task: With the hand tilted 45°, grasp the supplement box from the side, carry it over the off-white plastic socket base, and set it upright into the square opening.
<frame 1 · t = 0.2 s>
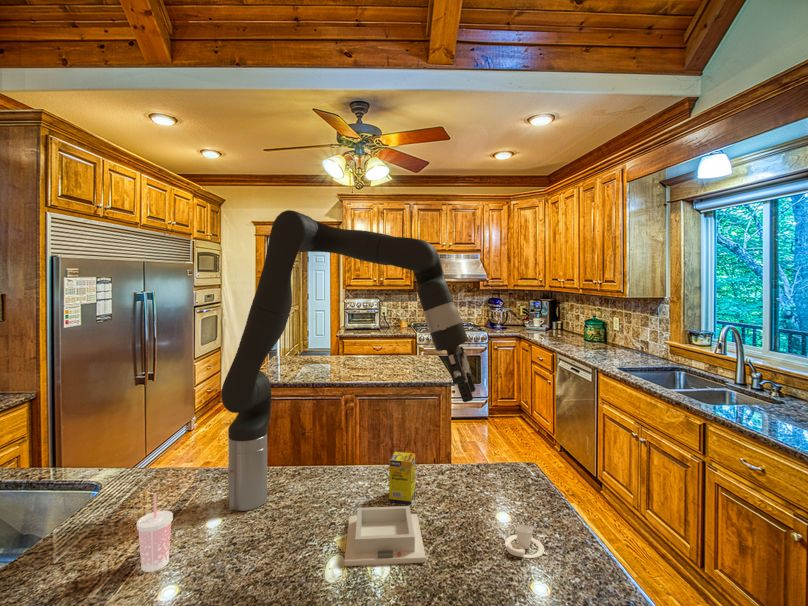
hand: (470, 396, 88), 31 cm above the countertop, tool tilted 20°, fingers open, 8 cm apart
beverage cup: (155, 564, 79), on the countertop
socket base: (384, 539, 87), on the countertop
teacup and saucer: (509, 546, 86), on the countertop
supplement box: (402, 498, 105), on the countertop
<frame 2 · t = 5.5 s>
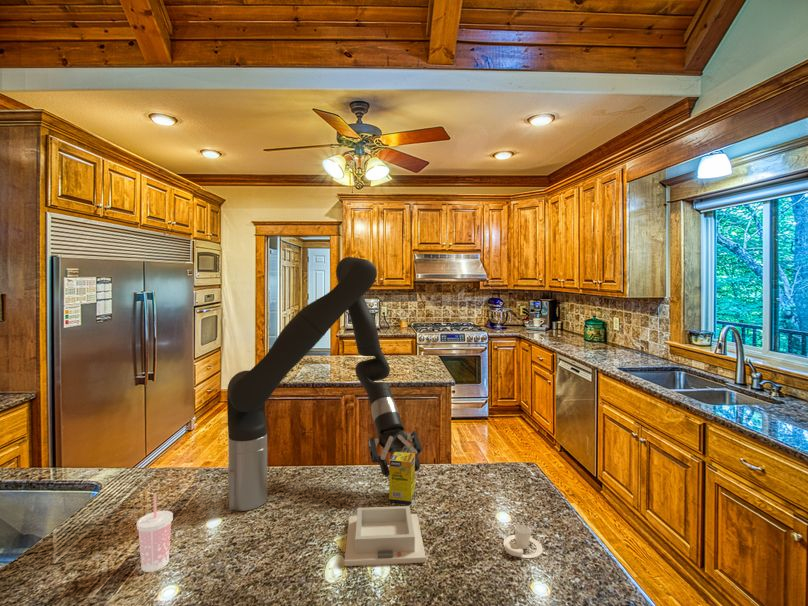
hand: (402, 472, 105), 7 cm above the countertop, tool tilted 45°, fingers open, 8 cm apart
supplement box: (402, 498, 105), on the countertop, touching gripper
everything else where it was.
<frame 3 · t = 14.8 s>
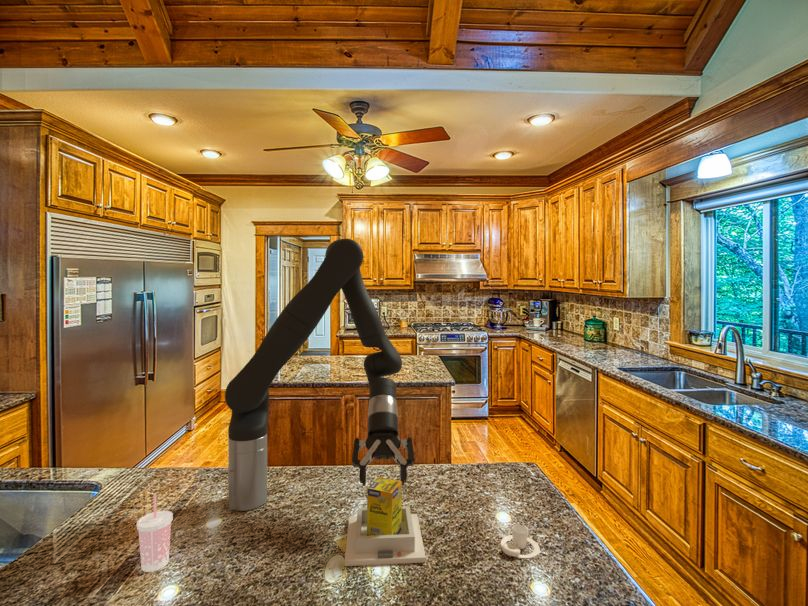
hand: (383, 484, 89), 11 cm above the countertop, tool tilted 45°, fingers open, 8 cm apart
supplement box: (384, 535, 87), point 1 cm above the countertop, touching socket base
everything else where it was.
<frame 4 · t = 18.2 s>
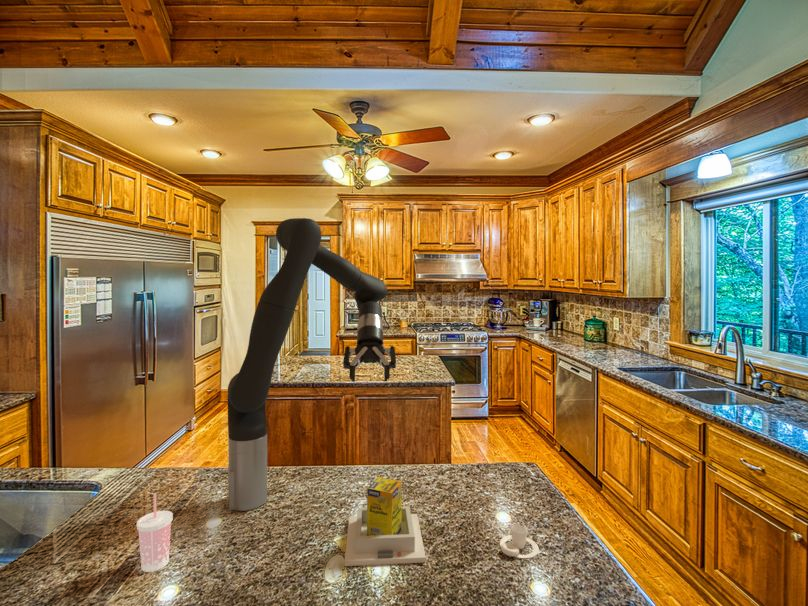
hand: (369, 380, 106), 31 cm above the countertop, tool tilted 45°, fingers open, 8 cm apart
at the end: supplement box 0.3 cm off-centre on the socket base, point 0.8 cm above the socket base's base; supplement box tilted 0°; the gripper is holding nothing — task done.
